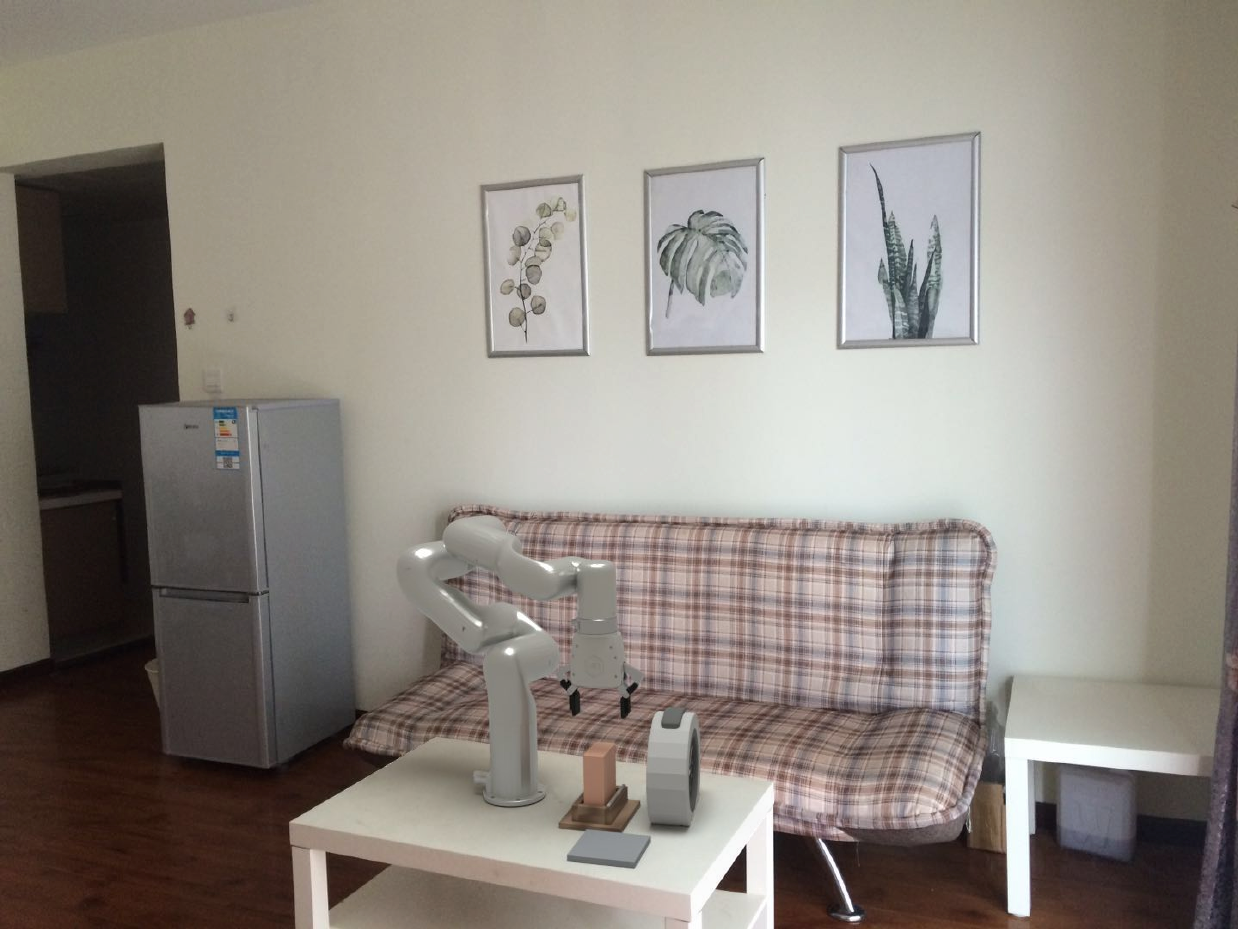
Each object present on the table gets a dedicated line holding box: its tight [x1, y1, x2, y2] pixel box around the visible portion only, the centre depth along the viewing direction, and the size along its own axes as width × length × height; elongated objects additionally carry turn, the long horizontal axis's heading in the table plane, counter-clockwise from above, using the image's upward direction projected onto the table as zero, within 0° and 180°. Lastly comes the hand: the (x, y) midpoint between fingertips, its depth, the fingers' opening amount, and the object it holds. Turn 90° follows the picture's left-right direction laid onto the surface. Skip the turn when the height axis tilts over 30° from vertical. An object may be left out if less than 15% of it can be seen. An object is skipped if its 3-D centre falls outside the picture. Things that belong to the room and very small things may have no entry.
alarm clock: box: [645, 706, 701, 827], centre depth 191 cm, size 21×8×20 cm, turn 168°
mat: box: [566, 829, 652, 869], centre depth 174 cm, size 12×11×1 cm
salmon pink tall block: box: [582, 741, 617, 806], centre depth 189 cm, size 4×8×12 cm, turn 164°
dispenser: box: [558, 783, 641, 833], centre depth 189 cm, size 12×14×5 cm
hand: (600, 715), depth 188 cm, fingers open, 9 cm apart
